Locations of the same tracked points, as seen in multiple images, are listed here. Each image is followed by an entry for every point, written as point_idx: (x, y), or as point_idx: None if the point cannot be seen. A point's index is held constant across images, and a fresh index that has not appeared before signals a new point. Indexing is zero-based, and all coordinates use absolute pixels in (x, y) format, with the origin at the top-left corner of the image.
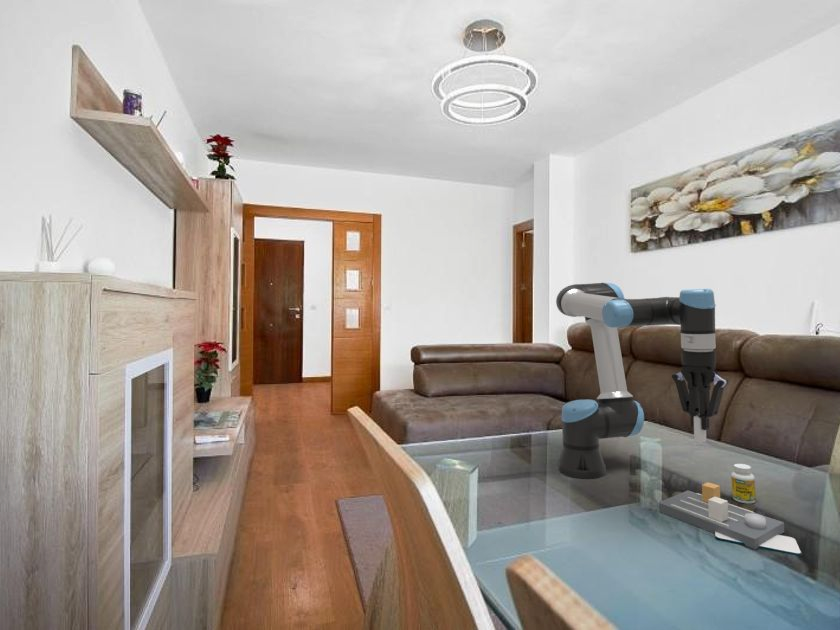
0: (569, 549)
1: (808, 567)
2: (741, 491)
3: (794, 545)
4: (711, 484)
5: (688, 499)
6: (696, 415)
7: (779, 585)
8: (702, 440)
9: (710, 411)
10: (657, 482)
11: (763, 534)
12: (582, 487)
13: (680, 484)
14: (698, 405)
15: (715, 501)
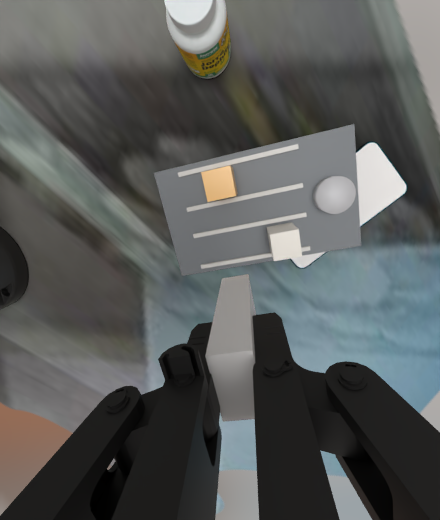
0: (230, 441)
1: (430, 216)
2: (215, 64)
3: (387, 170)
4: (215, 177)
5: (191, 213)
6: (215, 395)
7: (425, 300)
8: (253, 304)
9: (380, 482)
10: (71, 164)
11: (358, 214)
12: (62, 314)
13: (93, 122)
14: (197, 453)
15: (287, 255)
